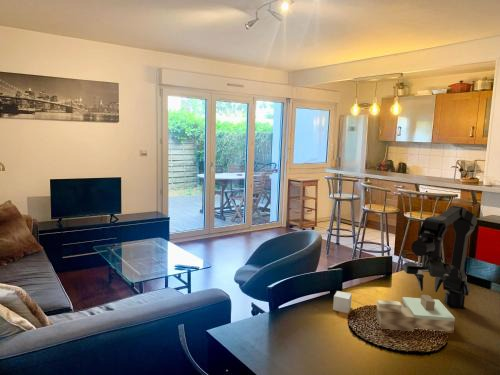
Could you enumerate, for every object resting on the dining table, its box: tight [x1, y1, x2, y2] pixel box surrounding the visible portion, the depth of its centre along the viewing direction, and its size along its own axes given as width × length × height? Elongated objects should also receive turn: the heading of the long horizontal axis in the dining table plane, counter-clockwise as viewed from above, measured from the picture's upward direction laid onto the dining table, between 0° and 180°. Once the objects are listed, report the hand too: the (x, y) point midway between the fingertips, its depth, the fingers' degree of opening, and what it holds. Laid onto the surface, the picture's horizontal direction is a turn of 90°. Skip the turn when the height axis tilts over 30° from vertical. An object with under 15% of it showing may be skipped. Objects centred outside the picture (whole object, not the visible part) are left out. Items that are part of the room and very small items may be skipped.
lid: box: [401, 294, 456, 322], centre depth 144 cm, size 14×16×6 cm
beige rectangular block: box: [376, 299, 402, 313], centre depth 140 cm, size 8×3×3 cm, turn 83°
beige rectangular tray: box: [375, 300, 456, 334], centre depth 144 cm, size 26×18×6 cm
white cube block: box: [332, 290, 352, 314], centre depth 153 cm, size 6×6×6 cm
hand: (428, 291), depth 143 cm, fingers open, 5 cm apart
